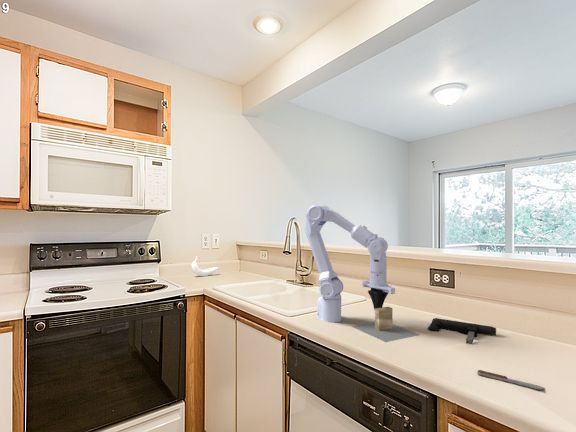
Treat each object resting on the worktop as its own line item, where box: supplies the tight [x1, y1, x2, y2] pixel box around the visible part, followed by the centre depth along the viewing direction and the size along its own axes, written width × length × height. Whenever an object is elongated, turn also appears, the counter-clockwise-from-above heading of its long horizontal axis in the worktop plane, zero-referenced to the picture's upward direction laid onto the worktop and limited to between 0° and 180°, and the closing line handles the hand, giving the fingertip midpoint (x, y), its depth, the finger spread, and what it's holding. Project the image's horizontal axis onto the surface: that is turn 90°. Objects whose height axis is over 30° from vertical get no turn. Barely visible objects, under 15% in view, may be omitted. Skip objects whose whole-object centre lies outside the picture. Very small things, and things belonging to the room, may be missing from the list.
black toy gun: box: [426, 317, 497, 345], centre depth 113 cm, size 3×20×16 cm
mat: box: [351, 321, 421, 343], centre depth 114 cm, size 17×15×1 cm
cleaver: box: [476, 369, 545, 390], centre depth 80 cm, size 13×2×5 cm
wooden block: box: [374, 306, 393, 331], centre depth 116 cm, size 2×6×7 cm, turn 117°
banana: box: [190, 255, 219, 277], centre depth 229 cm, size 5×19×15 cm, turn 134°
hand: (378, 310), depth 119 cm, fingers closed
